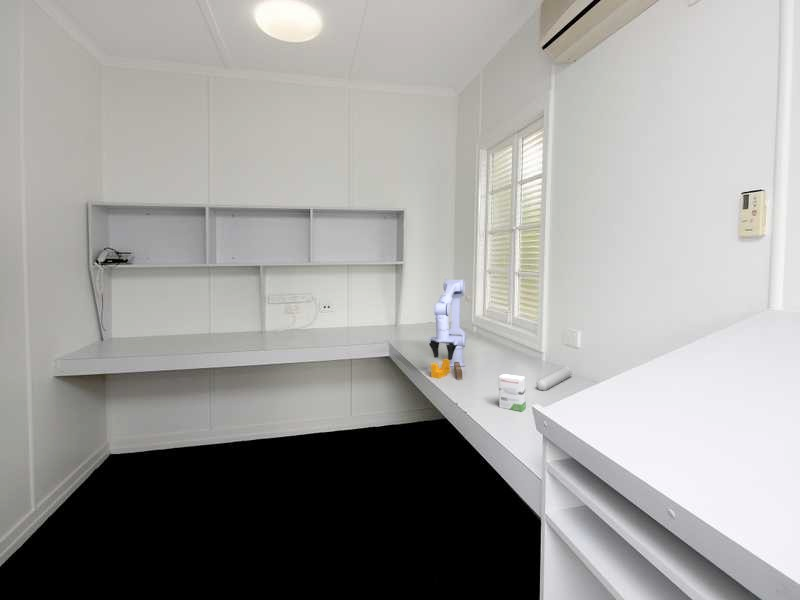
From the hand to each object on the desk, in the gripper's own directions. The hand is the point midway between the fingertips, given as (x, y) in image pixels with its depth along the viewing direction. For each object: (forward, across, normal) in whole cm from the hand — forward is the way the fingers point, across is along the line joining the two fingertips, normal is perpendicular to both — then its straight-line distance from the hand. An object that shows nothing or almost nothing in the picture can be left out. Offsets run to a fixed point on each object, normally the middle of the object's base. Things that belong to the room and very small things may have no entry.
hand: (443, 358), depth 185 cm
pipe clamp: (+10, -4, +5) cm, 11 cm away
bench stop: (+9, +2, +9) cm, 13 cm away
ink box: (+10, +41, -16) cm, 45 cm away
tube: (+10, +43, +19) cm, 48 cm away
